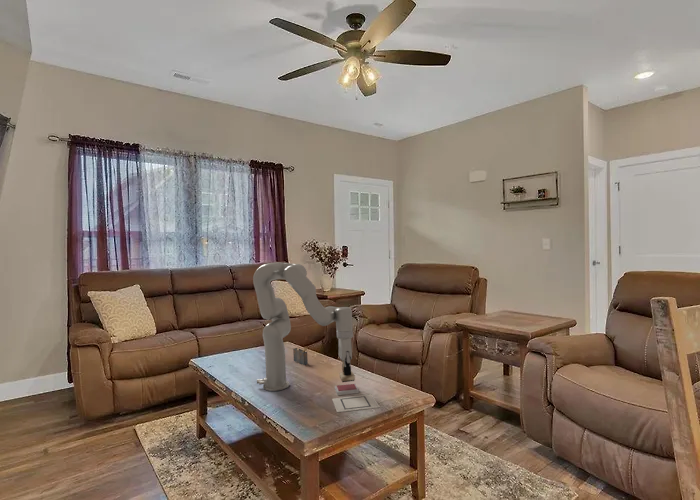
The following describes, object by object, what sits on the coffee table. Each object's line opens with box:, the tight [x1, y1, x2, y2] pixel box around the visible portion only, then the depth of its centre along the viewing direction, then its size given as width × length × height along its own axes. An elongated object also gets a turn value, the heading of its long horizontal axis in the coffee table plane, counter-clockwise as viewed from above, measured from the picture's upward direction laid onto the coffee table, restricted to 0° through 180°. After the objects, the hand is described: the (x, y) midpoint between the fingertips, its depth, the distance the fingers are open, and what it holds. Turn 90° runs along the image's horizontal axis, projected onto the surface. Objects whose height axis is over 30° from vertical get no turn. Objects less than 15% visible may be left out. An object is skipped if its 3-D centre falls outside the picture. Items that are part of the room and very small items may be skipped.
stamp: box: [339, 358, 356, 383], centre depth 186 cm, size 6×6×10 cm
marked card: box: [331, 393, 380, 414], centre depth 171 cm, size 18×14×1 cm
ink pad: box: [334, 383, 360, 396], centre depth 186 cm, size 10×8×2 cm
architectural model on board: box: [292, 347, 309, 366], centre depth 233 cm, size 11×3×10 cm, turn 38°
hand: (346, 373), depth 186 cm, fingers closed on stamp, 3 cm apart
